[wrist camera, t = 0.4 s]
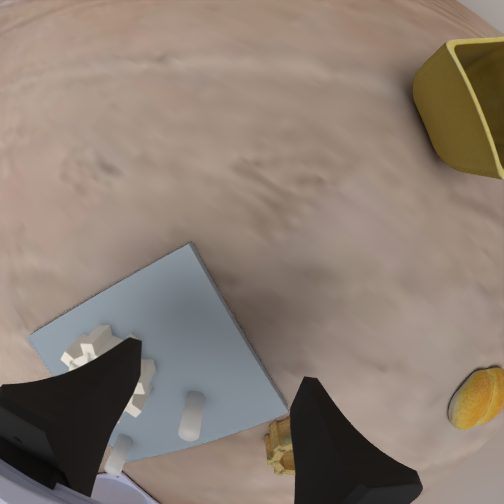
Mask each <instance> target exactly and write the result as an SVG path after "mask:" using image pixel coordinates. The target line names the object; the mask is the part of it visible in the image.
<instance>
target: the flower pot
mask: <svg viewBox="0 0 504 504" xmlns="http://www.w3.org/2000/svg"><path fill="white" fill-rule="evenodd" d="M413 99H414V102H415V105H416V107H417V109H418V111H419V113H420V116H421V118H422V120H423V122H424V125H425V127H426V129H427V132H428V134H429V137H430V140H431V142H432V145H433V147H434V149H435V151H436V153H437V154H438V155H439V156H440V158H441V159H442V160H443V161H444V162H445V163H446V164H447V165H449V166H450V167H452V168H454V169H456V170H458V171H461V172H465V173H470V174H475V175H481V176H486V177H492V178H497V179H502V180H504V37H493V38H476V39H456V40H450V41H446V42H445V43H444V44H443V45H442V46H441V47H440V48H439V49H438V50H437V51H436V52H435V53H434V54H433V55H432V56H431V57H430V58H429V59H428V60H427V61H426V62H425V63H424V64H423V65H422V67H421V68H420V69H419V70H418V72H417V73H416V75H415V78H414V81H413Z"/></svg>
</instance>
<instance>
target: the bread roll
mask: <svg viewBox="0 0 504 504" xmlns="http://www.w3.org/2000/svg"><path fill="white" fill-rule="evenodd" d="M503 406H504V369H501V368H490V369H486V370H479V371H476V372H474V373H472V374H471V375H470V377H468V378H467V380H466V381H465V382H464V383H463V384H462V386H461V387H460V388H459V389H458V390H457V392H456V393H455V394H454V396H453V398H452V400H451V402H450V405H449V410H448V415H449V420H450V422H451V424H452V425H453V426H454V427H456V428H458V429H460V430H467V429H469V428H471V427H473V426H474V425H481V424H484V423H486V422H489V421H490V420H492V419H493V418H494V417H495V416H496V415H497V414H498V413H499V412H500V411H501V409H502V408H503Z"/></svg>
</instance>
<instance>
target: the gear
mask: <svg viewBox="0 0 504 504" xmlns="http://www.w3.org/2000/svg"><path fill="white" fill-rule="evenodd" d="M128 337H131V338H135V339H138V338H136V337H135V336H134V335H133V334H131V333H130V334H129V335H128V336H127V338H128ZM127 338H126V339H127ZM138 340H139V339H138ZM122 341H124V340H123V339H120V338H118V337H115V336H113V335H112V331H111V327H110V325H99V326H97V327H96V328H95V329H94V330H93V331H92V332H91V333H90V334H89V335H88V336H87V335H86V334H85V333H83V334H82V335H81V336H80V337H79V338H78V339H77V340H76V341H75V342H74V343H73V344H72V345H71V346H70V347H69V348H68V349H67V350H66V351H65V352H64V354H63V355H62V357H61V360H62V361H63V362H64V363H65V364H66V365H67V366H68V367H69V368H68V369H67V370H66V372H69V371H71V370H74V369H76V368H78V367H80V366H82V365H84V364H86V363H88V362H90V361H92V360H94V359H95V358H97V357H99V356H100V355H102V354H104V353H105V352H107V351H108V350H110V349H112V348H113V347H115V346H116V345H118V344H119V343H121V342H122ZM155 371H156V369H155V365H154V360H153V359H142V358H141V376H140V378H139V381H138V383H137V386H136V388H135V391H134V393H133V395H132V397H131V399H130V401H129V402H128V404H127V406H126V408H125V410H124V411H123V413H122V415H121V417H120V419H119V420H118V422H117V423H119V422H120V420H121V418H122V416H123V414H124V412H125V411H126V412H128V413H129V414H131V415H132V416H134V417H135V418H136V417H137V416H138V415H139V414H140V413H141V412H142V410H143V407H144V405H145V403H146V400H147V398H148V396H149V393H150V391H151V389H152V386H151V385H150V382H151V380H152V377H153V375H154V373H155ZM66 372H65V373H66Z"/></svg>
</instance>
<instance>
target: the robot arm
mask: <svg viewBox="0 0 504 504" xmlns="http://www.w3.org/2000/svg"><path fill="white" fill-rule="evenodd" d="M141 353H142V341H141V340H138V339H135V338H131V337H128V338H127V339H125V340H124V341H122V342H121V343H119V344H118V345H116V346H115V347H113V348H112V349H110V350H108V351H107V352H105V353H104V354H102V355H100V356H99V357H97V358H95V359H94V360H92V361H90V362H88V363H86V364H84V365H82V366H80V367H78V368H76V369H74V370H71V371H69V372H66V373H64V374H61V375H57V376H54V377H51V378H47V379H43V380H39V381H34V382H28V383H19V384H3V385H2V386H1V387H0V504H159V503H158V502H157V501H156V500H154V499H153V498H152V497H151V496H149V495H148V494H147V493H146V492H145V491H143V490H142V489H141V488H140V487H139V486H137V485H136V484H135V483H134V482H133V481H132V480H131V479H129V478H128V477H127V476H126V475H125V474H124V473H123V472H121V474H120V476H113V475H110V474H109V473H103V474H97V473H98V470H99V467H100V464H101V461H102V458H103V455H104V452H105V449H106V447H107V444H108V442H109V439H110V436H111V434H112V432H113V430H114V428H115V426H116V424H117V422H118V420H119V419H120V417H121V415H122V413H123V411H124V410H125V408H126V406H127V404H128V402H129V401H130V399H131V397H132V395H133V393H134V391H135V388H136V386H137V383H138V381H139V378H140V376H141ZM290 431H291V440H292V448H293V456H294V464H295V500H294V504H410V503H411V502H412V501H414V500H415V499H416V498H417V497H418V496H419V495H420V493H421V491H422V490H423V486H422V484H421V481H420V478H419V476H418V473H417V471H415V470H413V469H411V468H409V467H407V466H405V465H403V464H401V463H399V462H397V461H396V460H394V459H393V458H391V457H389V456H388V455H386V454H385V453H383V452H382V451H381V450H379V449H378V448H377V447H375V446H374V445H373V444H372V443H370V442H369V441H368V440H367V439H366V438H365V437H364V436H363V435H362V434H361V433H359V432H358V431H357V430H356V429H355V428H354V426H353V425H352V424H351V423H350V422H349V421H348V420H347V418H346V417H345V416H344V415H343V414H342V412H341V411H340V410H339V409H338V407H337V406H336V405H335V403H334V402H333V400H332V399H331V398H330V396H329V395H328V393H327V392H326V390H325V389H324V387H323V386H322V384H321V383H320V382H319V380H318V379H317V378H312V377H305V376H304V378H303V380H302V383H301V385H300V387H299V390H298V392H297V394H296V396H295V399H294V401H293V403H292V405H291V407H290Z"/></svg>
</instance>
